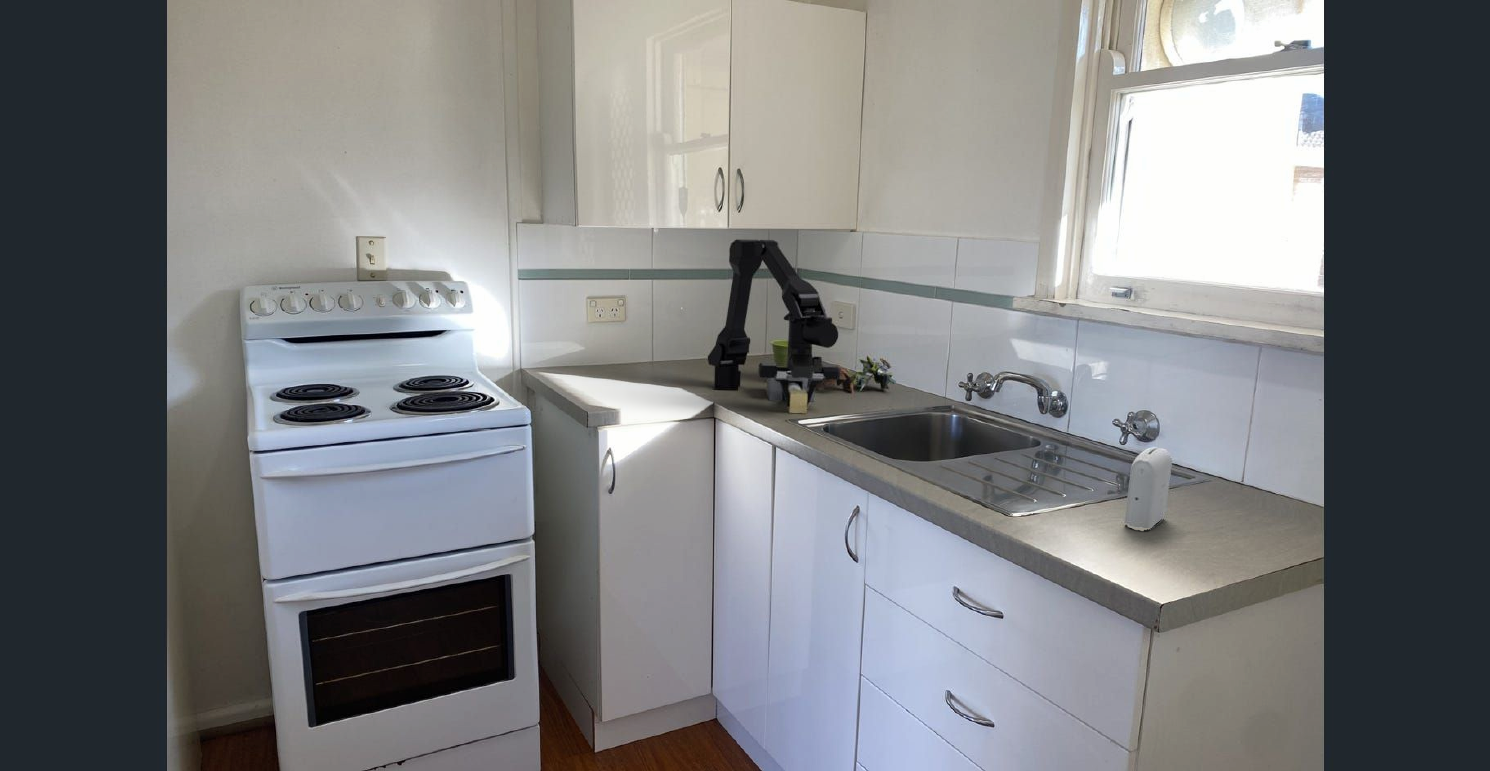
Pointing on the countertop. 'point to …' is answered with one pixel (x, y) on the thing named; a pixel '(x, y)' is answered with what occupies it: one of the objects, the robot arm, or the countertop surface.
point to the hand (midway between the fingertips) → (797, 406)
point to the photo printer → (1148, 488)
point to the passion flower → (873, 373)
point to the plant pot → (780, 351)
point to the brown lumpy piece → (838, 381)
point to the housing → (776, 389)
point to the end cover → (797, 398)
